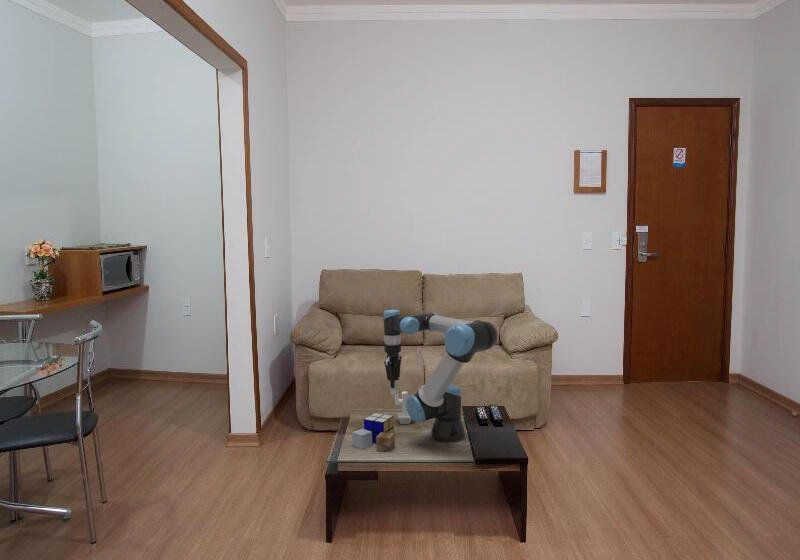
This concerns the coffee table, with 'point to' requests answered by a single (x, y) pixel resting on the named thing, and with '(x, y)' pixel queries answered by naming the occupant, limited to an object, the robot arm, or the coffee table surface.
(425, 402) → the robot arm
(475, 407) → the coffee table surface
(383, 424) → the puzzle cube
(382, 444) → the walnut block
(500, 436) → the coffee table surface
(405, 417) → the figurine
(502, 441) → the coffee table surface
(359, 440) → the blue-grey block
